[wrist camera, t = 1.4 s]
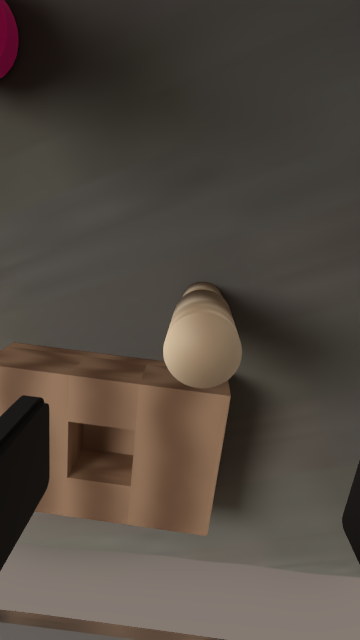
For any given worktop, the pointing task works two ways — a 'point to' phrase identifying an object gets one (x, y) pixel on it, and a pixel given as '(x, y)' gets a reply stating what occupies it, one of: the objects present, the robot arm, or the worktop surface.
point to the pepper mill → (7, 38)
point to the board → (122, 436)
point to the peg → (202, 338)
